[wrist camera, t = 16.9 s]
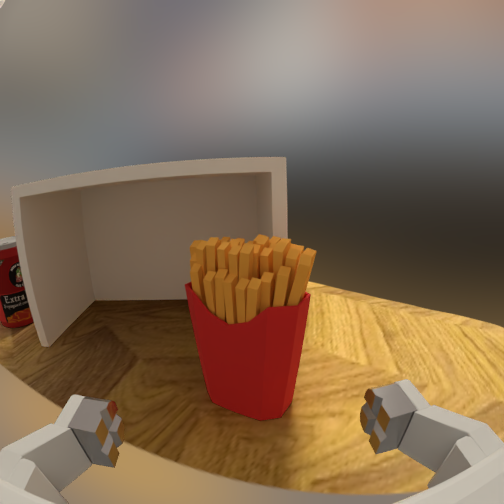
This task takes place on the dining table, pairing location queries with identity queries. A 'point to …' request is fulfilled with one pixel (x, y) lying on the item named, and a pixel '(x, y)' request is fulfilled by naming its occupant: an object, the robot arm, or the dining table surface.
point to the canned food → (12, 287)
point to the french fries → (249, 320)
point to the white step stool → (135, 229)
